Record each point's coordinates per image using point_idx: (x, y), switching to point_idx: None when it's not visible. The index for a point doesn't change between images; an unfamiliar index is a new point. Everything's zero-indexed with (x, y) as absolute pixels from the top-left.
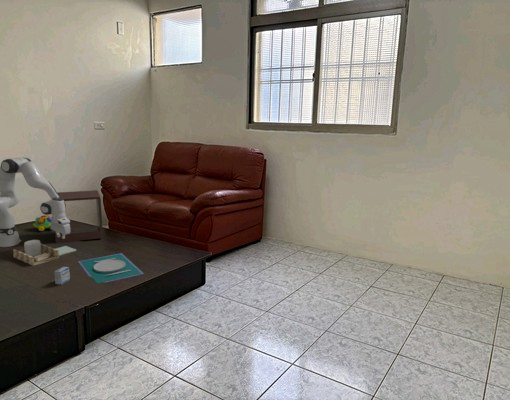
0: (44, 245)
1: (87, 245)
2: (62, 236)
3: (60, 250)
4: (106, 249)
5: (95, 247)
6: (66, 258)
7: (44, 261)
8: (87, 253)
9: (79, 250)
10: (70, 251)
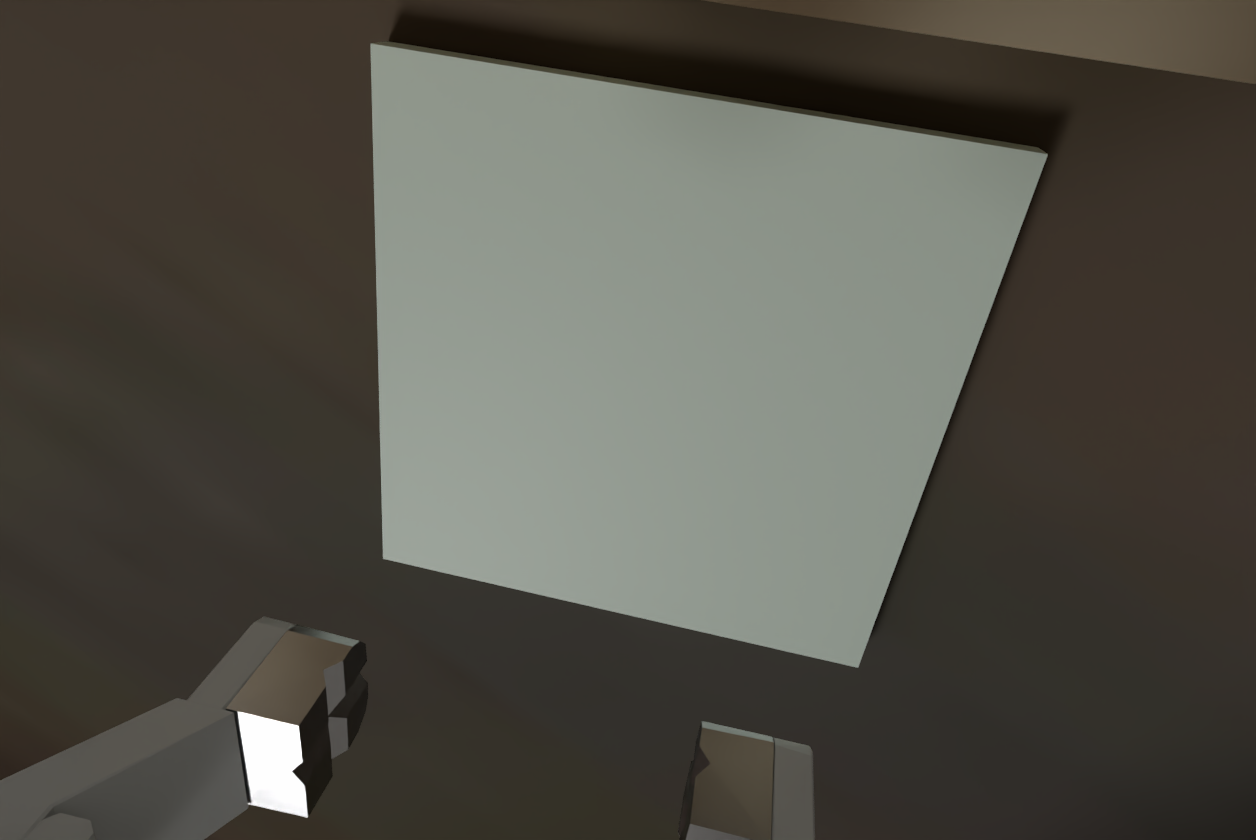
0: (1118, 2)
1: (503, 818)
2: (198, 707)
3: (669, 366)
4: (55, 754)
5: None
6: (33, 27)
7: None
8: (63, 505)
9: (358, 576)
10: (380, 423)
